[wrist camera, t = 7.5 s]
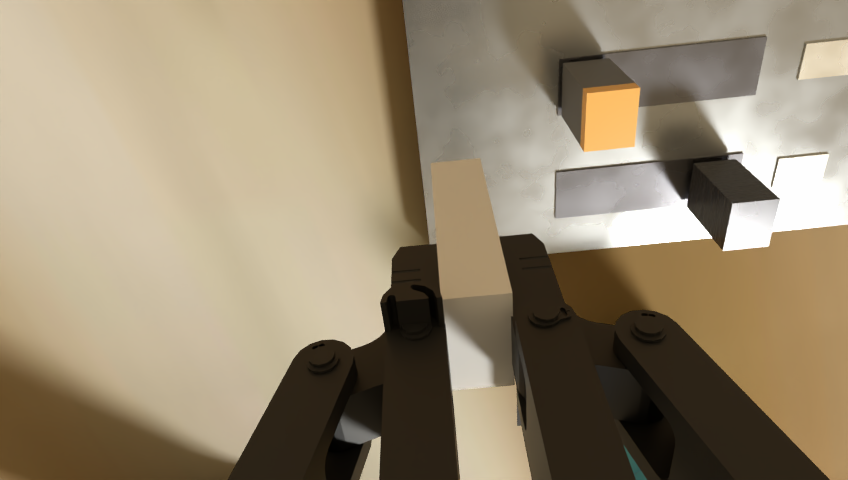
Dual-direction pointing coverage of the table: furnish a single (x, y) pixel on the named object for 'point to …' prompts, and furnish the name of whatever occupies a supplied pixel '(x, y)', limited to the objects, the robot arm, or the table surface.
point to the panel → (640, 116)
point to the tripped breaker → (599, 104)
